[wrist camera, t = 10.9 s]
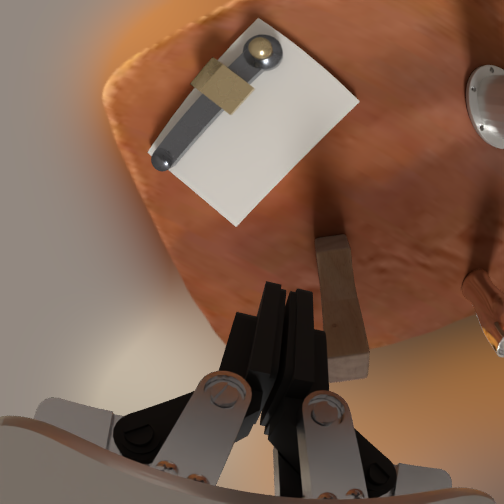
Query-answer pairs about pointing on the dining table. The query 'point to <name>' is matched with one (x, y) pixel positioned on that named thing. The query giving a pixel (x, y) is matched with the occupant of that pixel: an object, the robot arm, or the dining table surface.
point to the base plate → (260, 129)
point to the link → (210, 108)
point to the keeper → (229, 79)
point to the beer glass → (487, 306)
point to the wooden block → (341, 311)
